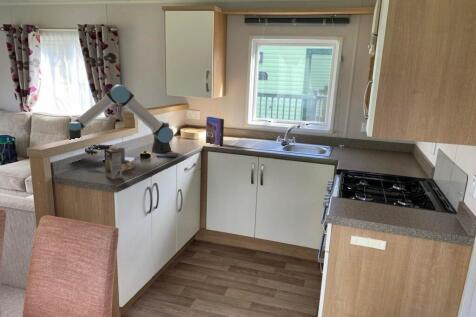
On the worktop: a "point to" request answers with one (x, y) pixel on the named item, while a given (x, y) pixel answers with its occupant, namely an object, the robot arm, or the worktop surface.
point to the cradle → (127, 165)
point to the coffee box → (113, 163)
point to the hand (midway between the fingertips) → (109, 151)
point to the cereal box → (214, 130)
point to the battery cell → (122, 154)
